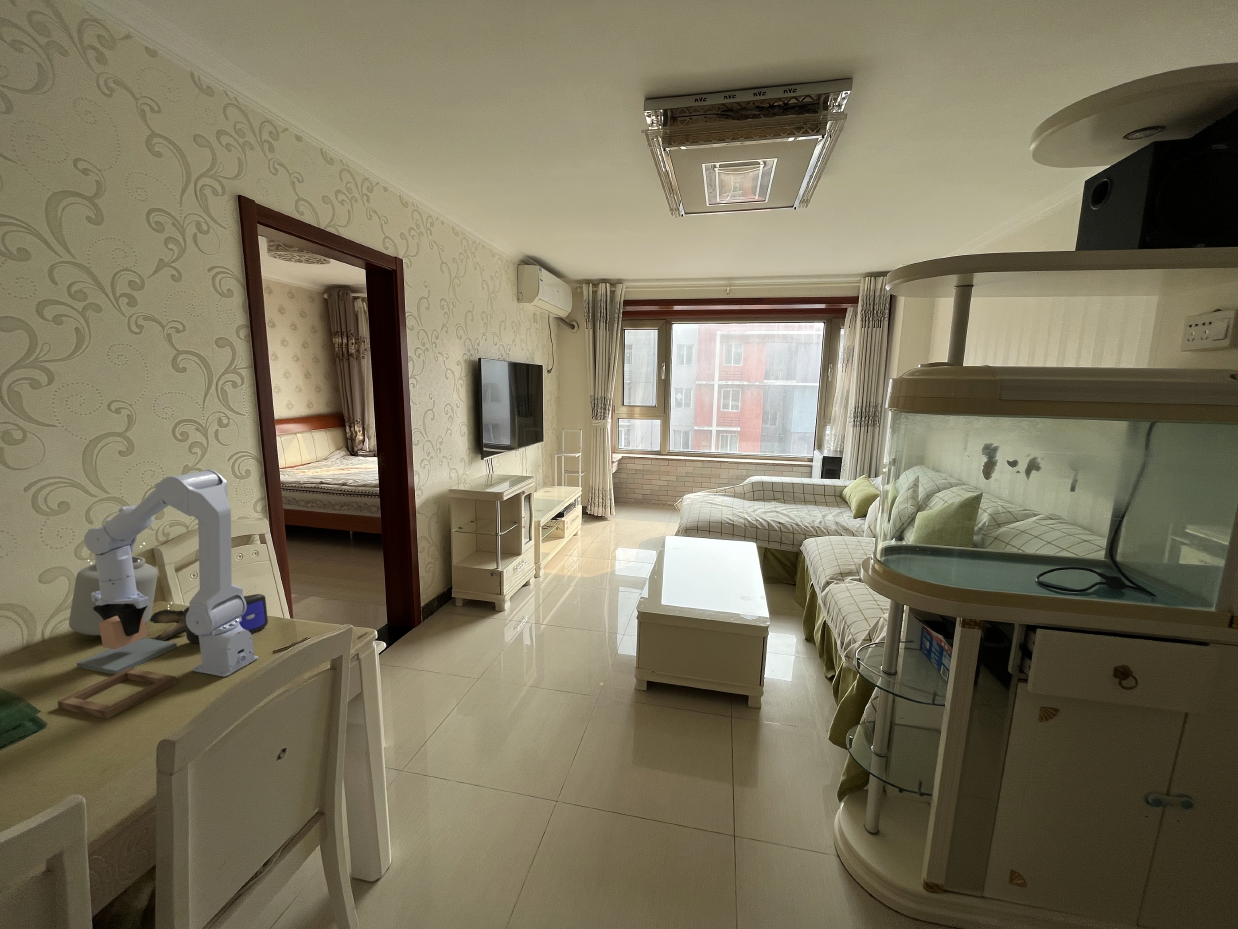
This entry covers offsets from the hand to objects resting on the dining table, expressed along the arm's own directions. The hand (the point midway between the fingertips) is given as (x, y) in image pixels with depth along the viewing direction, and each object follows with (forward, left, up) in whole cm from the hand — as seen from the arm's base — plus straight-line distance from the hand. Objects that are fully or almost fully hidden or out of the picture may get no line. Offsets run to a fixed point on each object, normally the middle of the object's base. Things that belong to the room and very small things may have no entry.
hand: (125, 633), depth 115 cm
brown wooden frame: (-15, +11, -6) cm, 20 cm away
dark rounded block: (-12, -14, -6) cm, 19 cm away
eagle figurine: (+1, -12, -6) cm, 13 cm away
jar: (+17, -10, -6) cm, 21 cm away
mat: (0, 0, -6) cm, 6 cm away
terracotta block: (0, 0, -2) cm, 2 cm away
